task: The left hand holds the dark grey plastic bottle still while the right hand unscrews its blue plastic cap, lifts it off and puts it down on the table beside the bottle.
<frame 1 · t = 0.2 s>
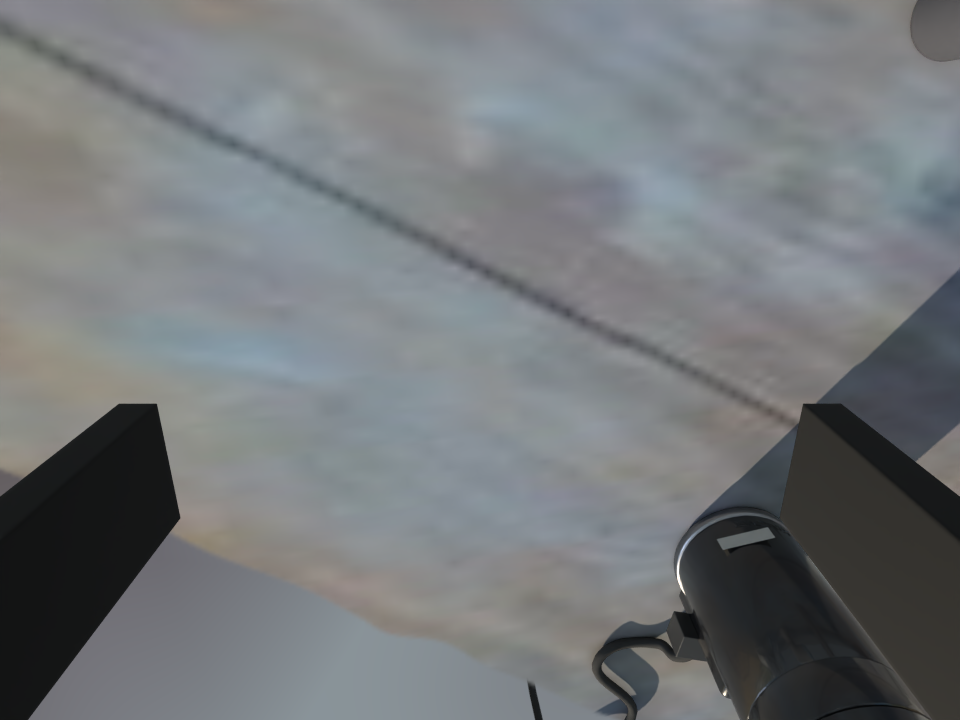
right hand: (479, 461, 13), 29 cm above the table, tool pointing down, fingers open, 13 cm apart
bottle: (951, 16, 36), on the table
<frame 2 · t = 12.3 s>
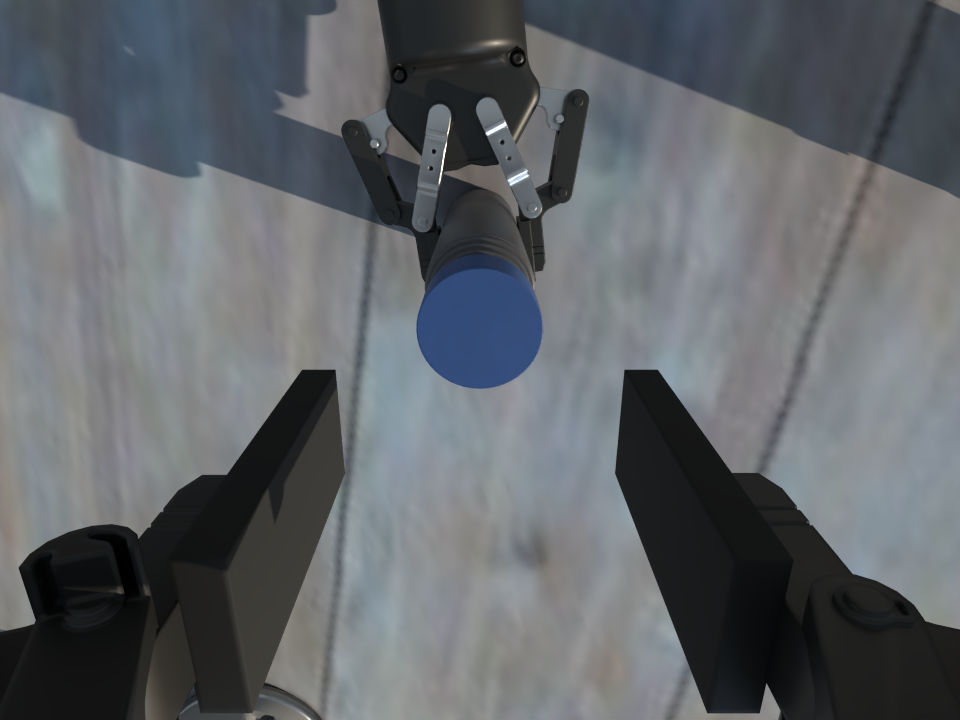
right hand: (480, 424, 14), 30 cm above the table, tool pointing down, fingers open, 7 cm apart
left hand: (485, 283, 38), fingers closed on bottle, 4 cm apart
bottle: (480, 224, 43), on the table, touching left hand
cap: (479, 328, 21), point 23 cm above the table, screwed on, not yet turned
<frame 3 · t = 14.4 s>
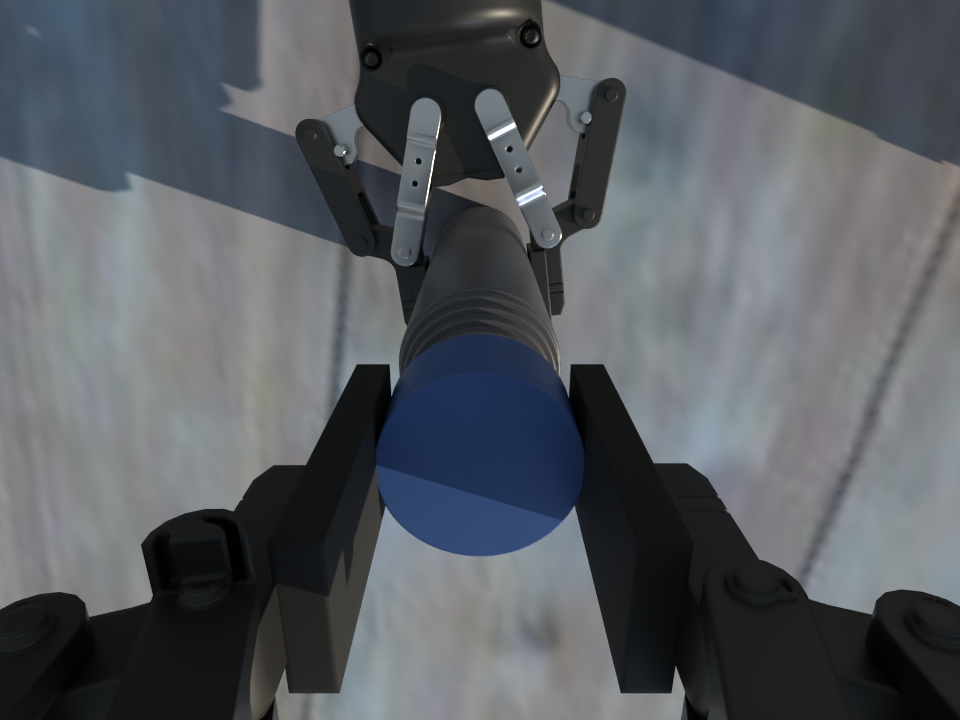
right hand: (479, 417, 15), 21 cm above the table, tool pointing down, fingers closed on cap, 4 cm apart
left hand: (487, 328, 29), fingers closed on bottle, 4 cm apart
bottle: (479, 249, 34), on the table, touching left hand
cap: (479, 462, 13), point 23 cm above the table, screwed on, not yet turned, touching right hand
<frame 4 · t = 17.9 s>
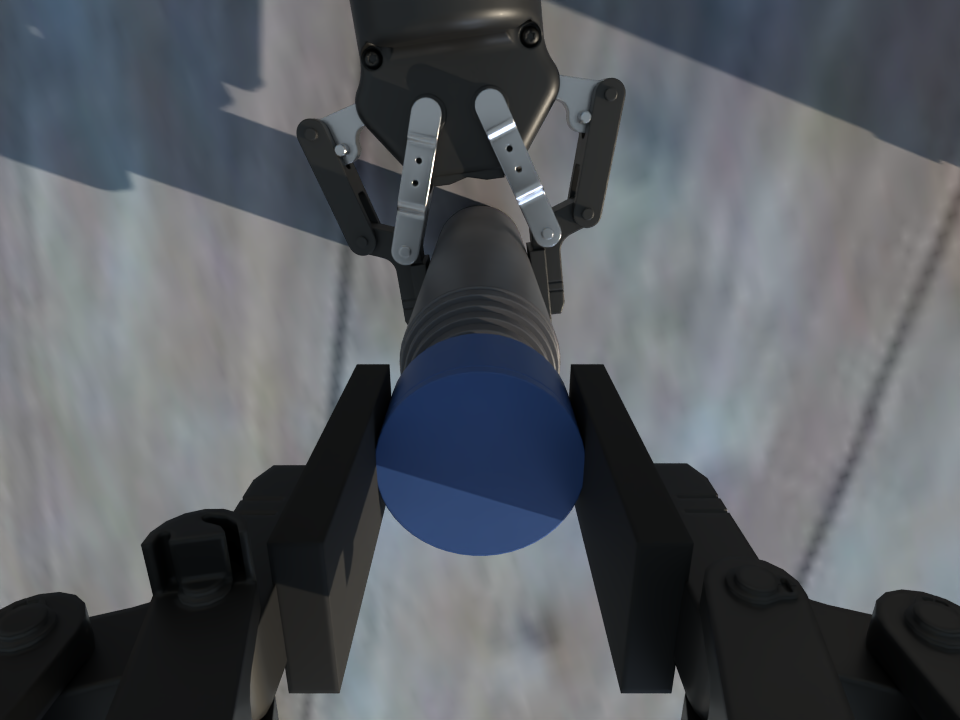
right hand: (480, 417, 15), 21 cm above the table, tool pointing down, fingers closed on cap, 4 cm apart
left hand: (487, 327, 30), fingers closed on bottle, 4 cm apart
bottle: (480, 248, 34), on the table, touching left hand
cap: (480, 462, 13), point 23 cm above the table, turned 123° so far, risen 0.1 cm, still on its thread, touching right hand
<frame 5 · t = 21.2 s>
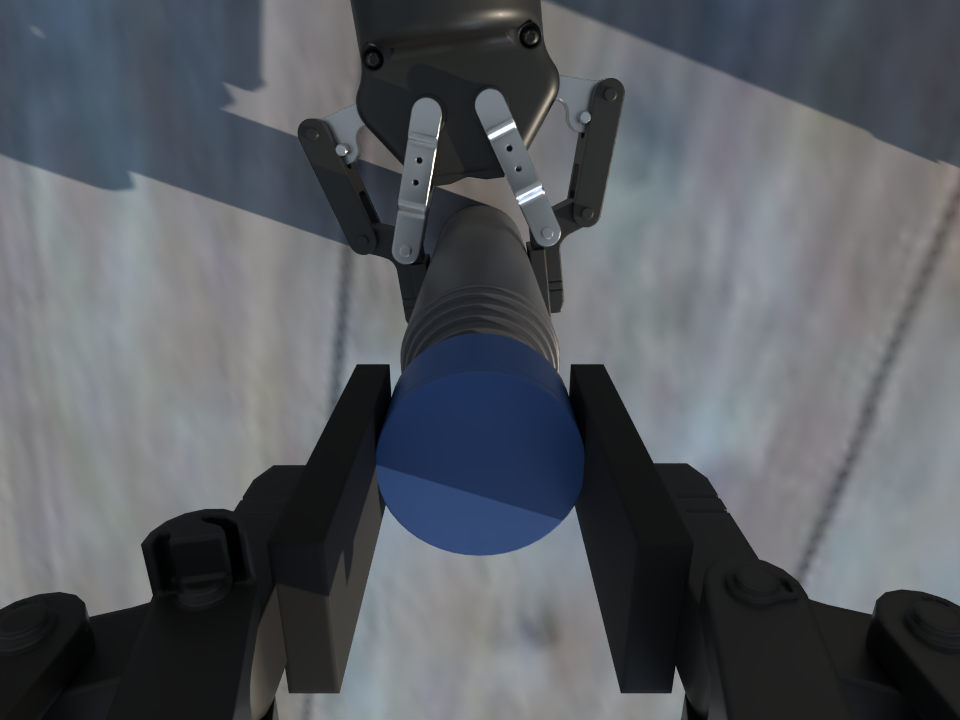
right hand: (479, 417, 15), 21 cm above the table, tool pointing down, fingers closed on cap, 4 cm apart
left hand: (487, 326, 30), fingers closed on bottle, 4 cm apart
bottle: (480, 247, 35), on the table, touching left hand
cap: (480, 461, 13), point 23 cm above the table, turned 247° so far, risen 0.3 cm, still on its thread, touching right hand
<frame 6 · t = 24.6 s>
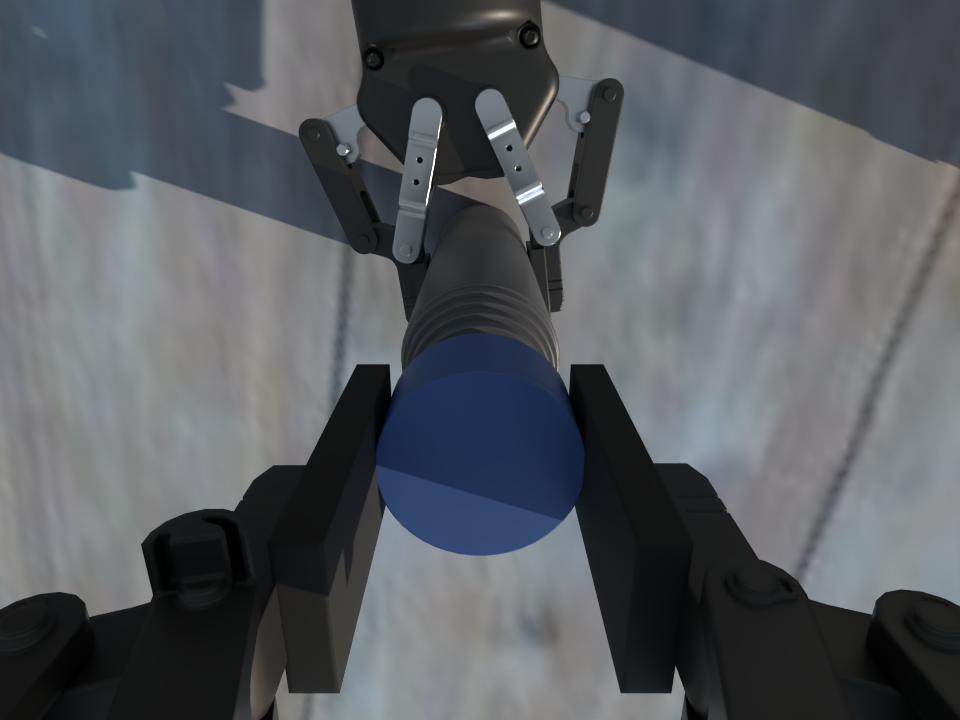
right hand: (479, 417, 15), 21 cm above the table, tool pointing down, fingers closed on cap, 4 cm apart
left hand: (487, 325, 30), fingers closed on bottle, 4 cm apart
bottle: (480, 247, 35), on the table, touching left hand
cap: (480, 461, 13), point 24 cm above the table, turned 370° so far, risen 0.5 cm, still on its thread, touching right hand
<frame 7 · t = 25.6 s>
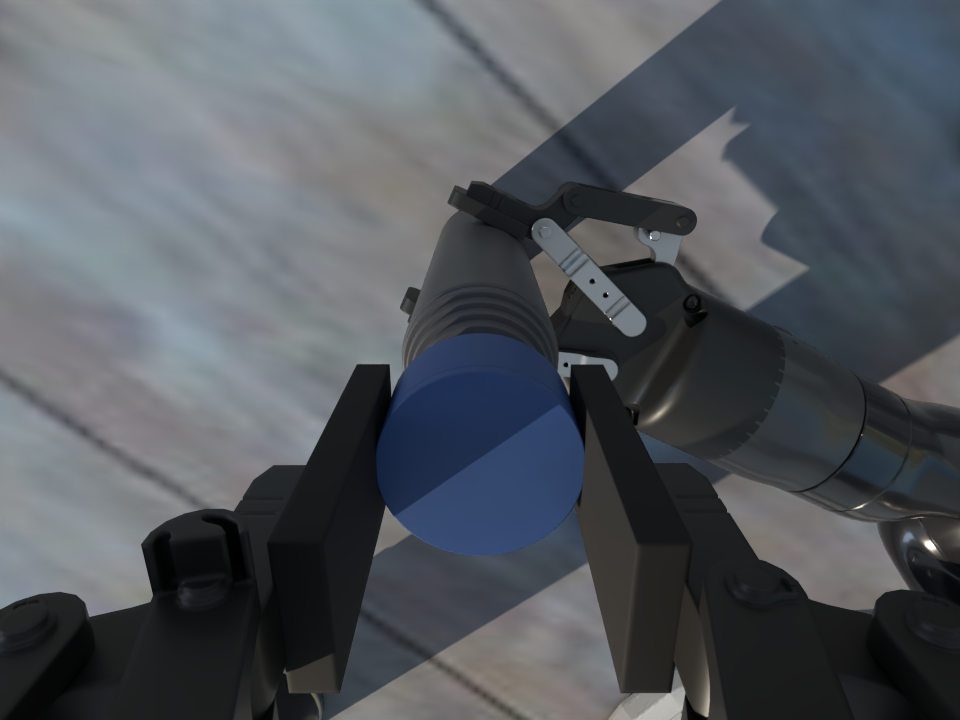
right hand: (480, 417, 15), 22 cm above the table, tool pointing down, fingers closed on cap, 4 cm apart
left hand: (428, 248, 29), fingers closed on bottle, 4 cm apart
bottle: (480, 247, 35), on the table, touching left hand
cap: (480, 461, 13), point 24 cm above the table, off its thread, touching right hand
when the right hand's fingers open (1 cm above the table, at t = 31.0 s): cap stays where it is, point 2 cm above the table.
when the left hand's fingers open (6 cm above the table, at t = 32.3 s): bottle stays where it is, on the table.
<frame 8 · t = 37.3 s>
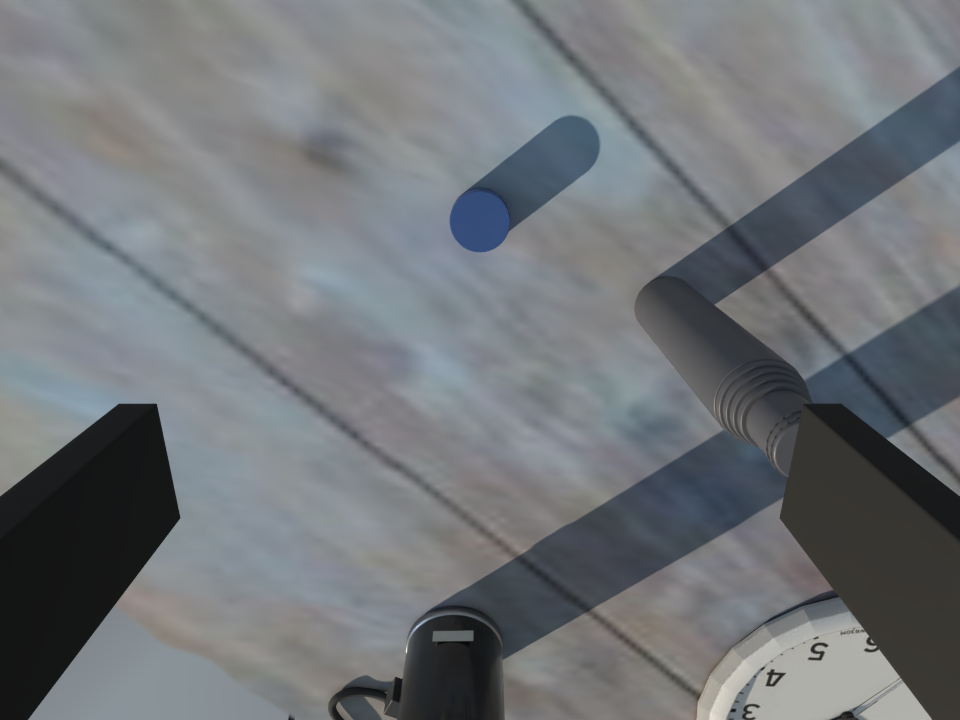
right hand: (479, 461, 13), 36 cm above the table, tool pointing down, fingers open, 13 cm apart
bottle: (664, 305, 49), on the table
wall clock: (840, 707, 64), on the table
cap: (479, 221, 44), point 2 cm above the table, off its thread
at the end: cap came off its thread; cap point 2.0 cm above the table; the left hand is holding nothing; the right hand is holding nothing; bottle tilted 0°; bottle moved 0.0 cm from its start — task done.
